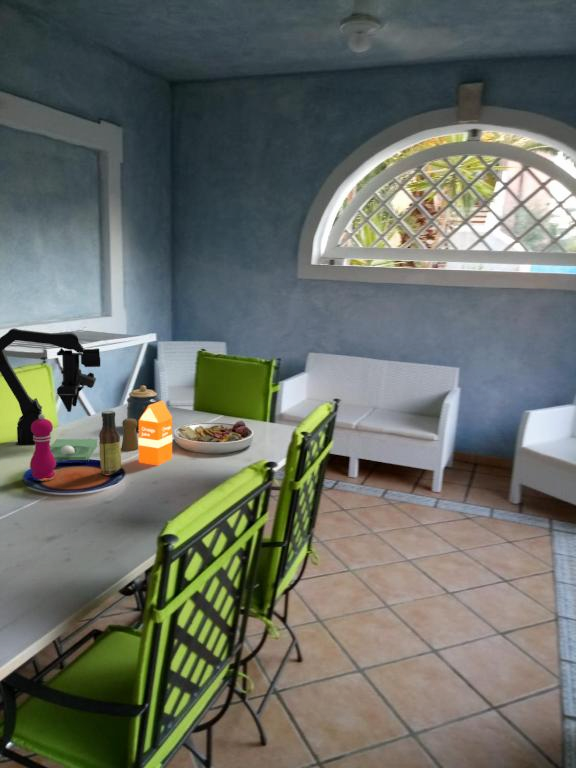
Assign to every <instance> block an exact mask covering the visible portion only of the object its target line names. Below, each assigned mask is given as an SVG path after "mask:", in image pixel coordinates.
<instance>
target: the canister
mask: <svg viewBox="0 0 576 768" xmlns="http://www.w3.org/2000/svg"><path fill="white" fill-rule="evenodd" d="M128 396H129V397H128V398H127V399H126V401H127V407H126V410H127V411H126V414H127V415H126V416H127V418H126V419H128V418H133V419H136V420H137V427H136V430H139V420H140V418H141V417H142V415H143V413H144V412H145V410H146V409H147V407H148V406H149V405H151V404H154V403H157V402H160V399H159V397H158V393H157V392H155V390H153V389H147V386H146V385H140V386H139V389H134V390H132V391H131V392H128Z"/></svg>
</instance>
